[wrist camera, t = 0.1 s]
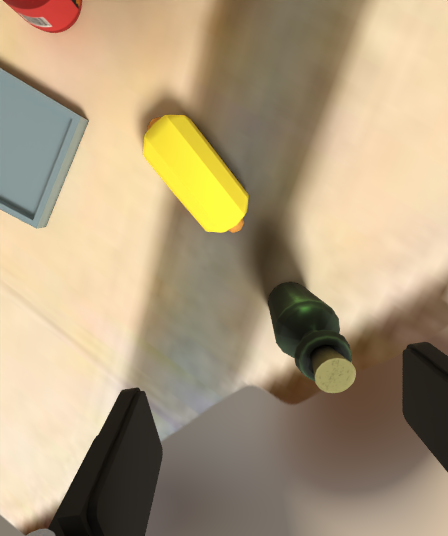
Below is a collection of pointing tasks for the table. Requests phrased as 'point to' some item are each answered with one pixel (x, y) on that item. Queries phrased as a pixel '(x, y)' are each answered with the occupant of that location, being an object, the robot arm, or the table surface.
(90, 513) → the robot arm
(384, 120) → the table surface
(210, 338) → the table surface
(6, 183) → the tray
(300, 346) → the potion bottle
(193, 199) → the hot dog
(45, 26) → the canned food
